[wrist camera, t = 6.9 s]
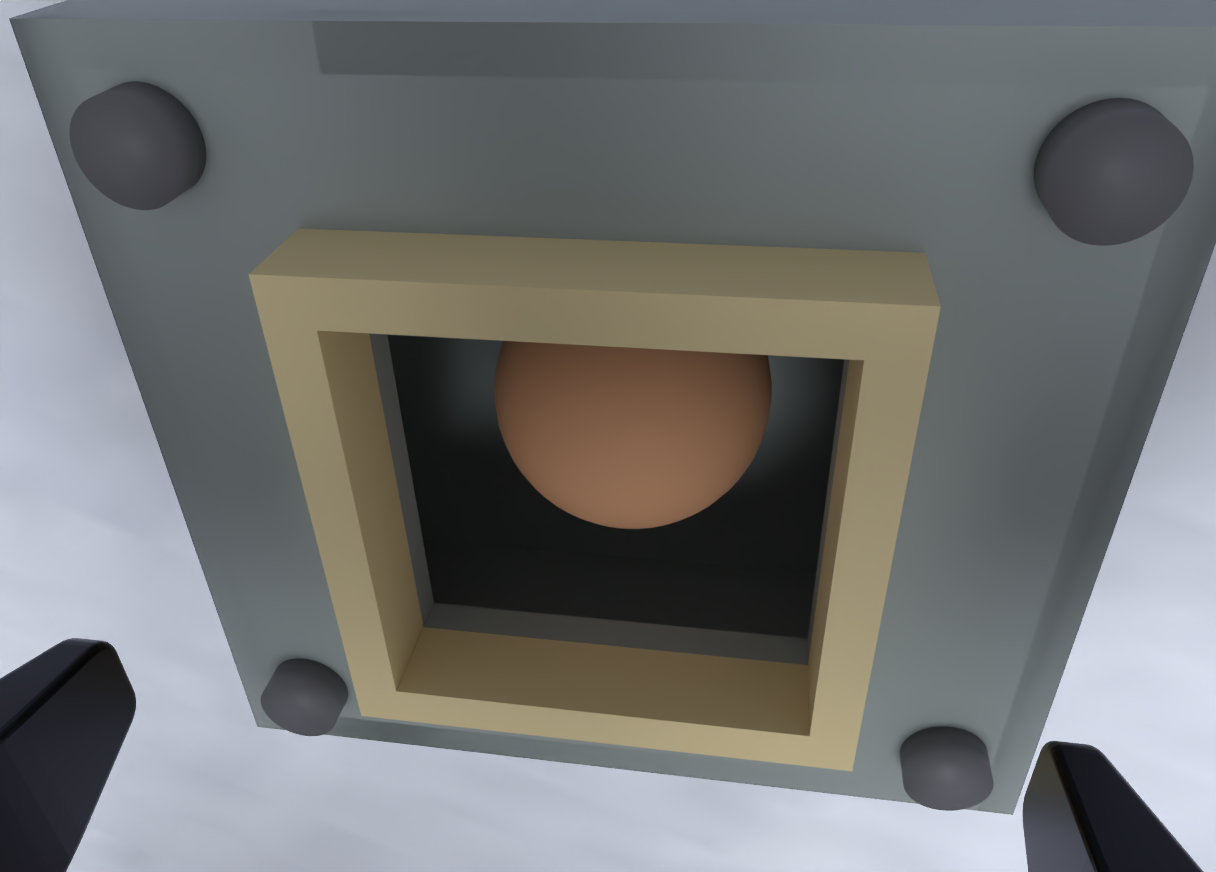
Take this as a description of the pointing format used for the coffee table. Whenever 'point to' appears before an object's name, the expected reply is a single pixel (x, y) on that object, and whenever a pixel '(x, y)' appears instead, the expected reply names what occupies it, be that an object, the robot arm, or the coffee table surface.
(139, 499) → the coffee table surface
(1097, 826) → the robot arm
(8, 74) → the coffee table surface
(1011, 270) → the grey box with opening
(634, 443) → the bead
